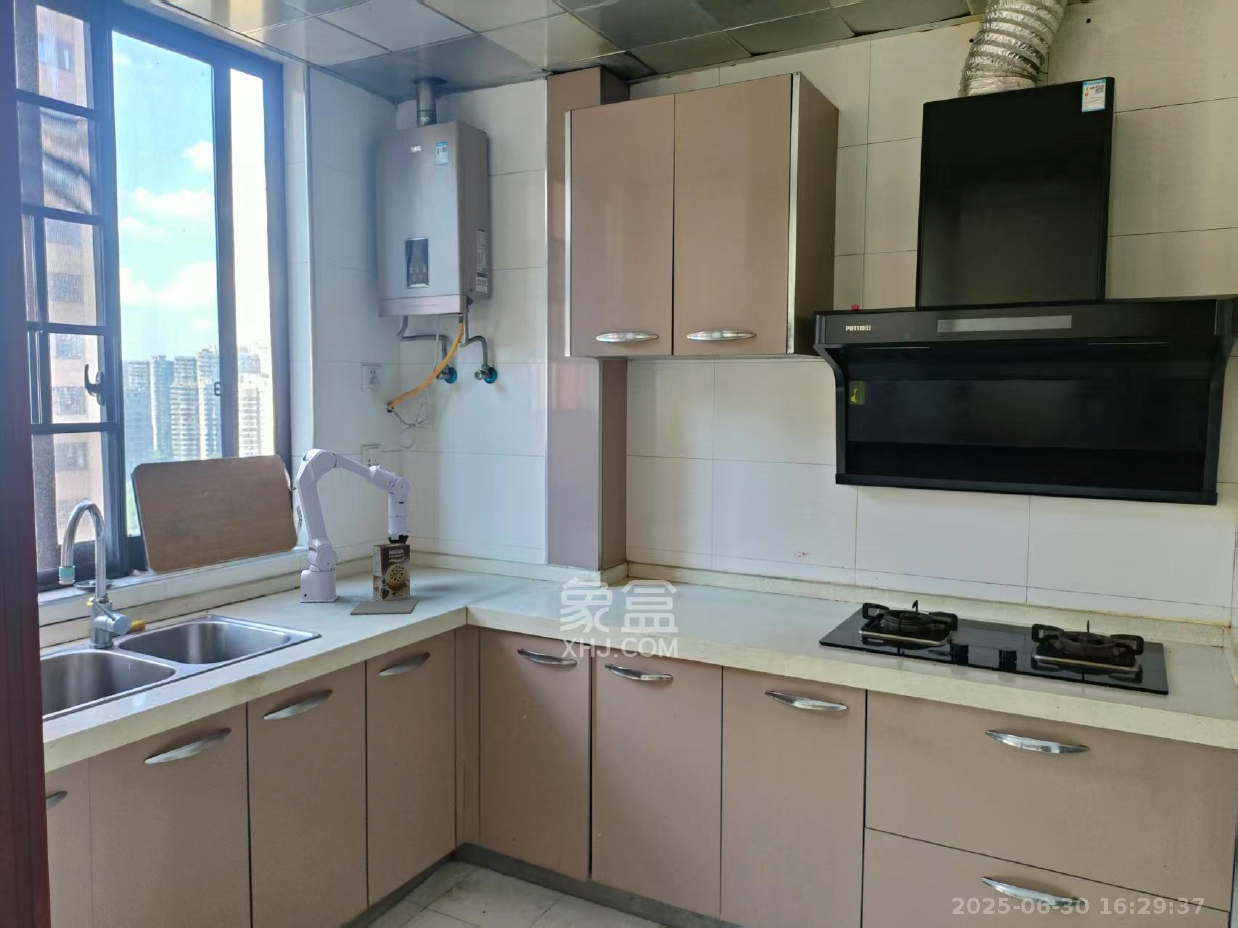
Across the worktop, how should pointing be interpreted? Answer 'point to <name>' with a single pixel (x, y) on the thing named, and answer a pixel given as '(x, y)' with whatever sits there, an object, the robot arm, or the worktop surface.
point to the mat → (384, 607)
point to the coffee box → (391, 572)
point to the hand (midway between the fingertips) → (398, 559)
